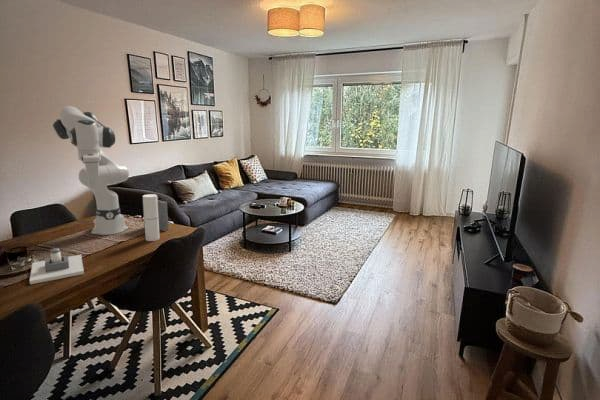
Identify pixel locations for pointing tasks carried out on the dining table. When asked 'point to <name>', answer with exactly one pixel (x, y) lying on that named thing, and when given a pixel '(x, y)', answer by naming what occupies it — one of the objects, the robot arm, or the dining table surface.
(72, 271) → the socket block
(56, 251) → the plug
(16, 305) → the dining table surface
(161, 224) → the hip flask
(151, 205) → the cylindrical container
